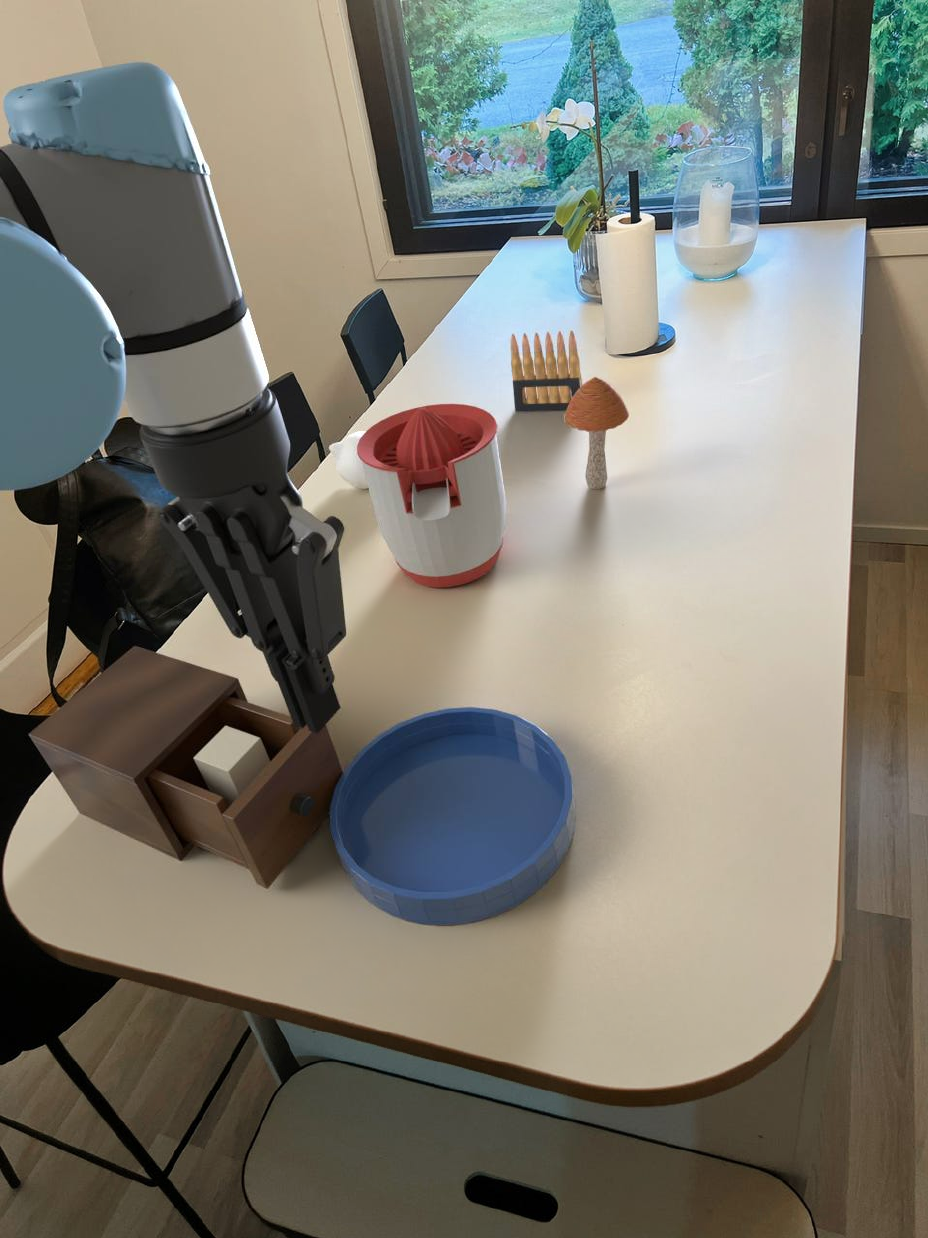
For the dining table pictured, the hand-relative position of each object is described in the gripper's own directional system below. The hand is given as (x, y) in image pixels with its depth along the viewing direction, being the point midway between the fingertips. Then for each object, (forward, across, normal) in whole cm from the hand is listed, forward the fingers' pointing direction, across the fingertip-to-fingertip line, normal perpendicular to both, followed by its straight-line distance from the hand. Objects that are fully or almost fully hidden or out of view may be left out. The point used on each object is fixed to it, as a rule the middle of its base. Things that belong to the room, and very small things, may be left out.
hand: (317, 716), depth 61 cm
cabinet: (+17, +23, 0) cm, 29 cm away
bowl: (+17, -4, -7) cm, 19 cm away
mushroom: (+18, +6, -62) cm, 65 cm away
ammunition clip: (+18, +23, -82) cm, 87 cm away
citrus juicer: (+18, +16, -40) cm, 47 cm away
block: (+15, +12, 0) cm, 20 cm away
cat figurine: (+18, +36, -54) cm, 67 cm away
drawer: (+17, +12, 0) cm, 20 cm away
